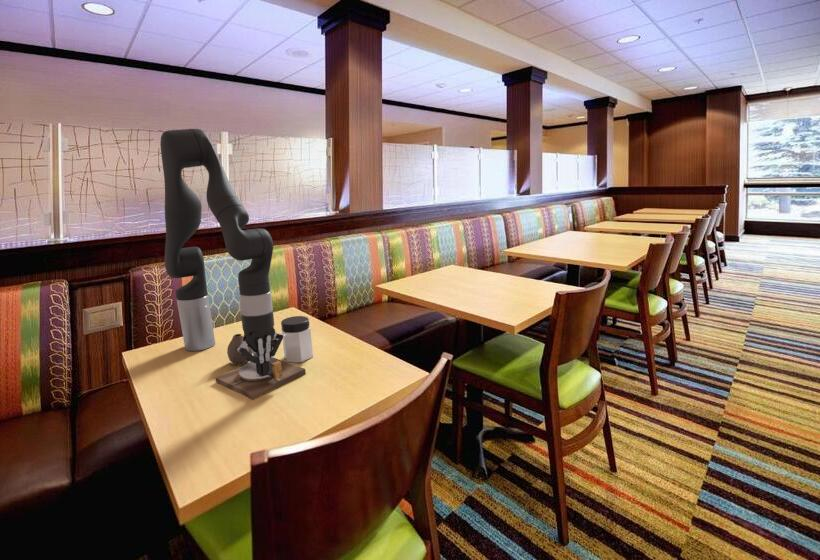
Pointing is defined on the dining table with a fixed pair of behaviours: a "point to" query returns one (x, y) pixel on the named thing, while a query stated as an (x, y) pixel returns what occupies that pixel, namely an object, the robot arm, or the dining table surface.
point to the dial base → (260, 387)
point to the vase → (233, 354)
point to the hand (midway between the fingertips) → (263, 374)
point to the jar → (296, 339)
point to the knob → (250, 374)
